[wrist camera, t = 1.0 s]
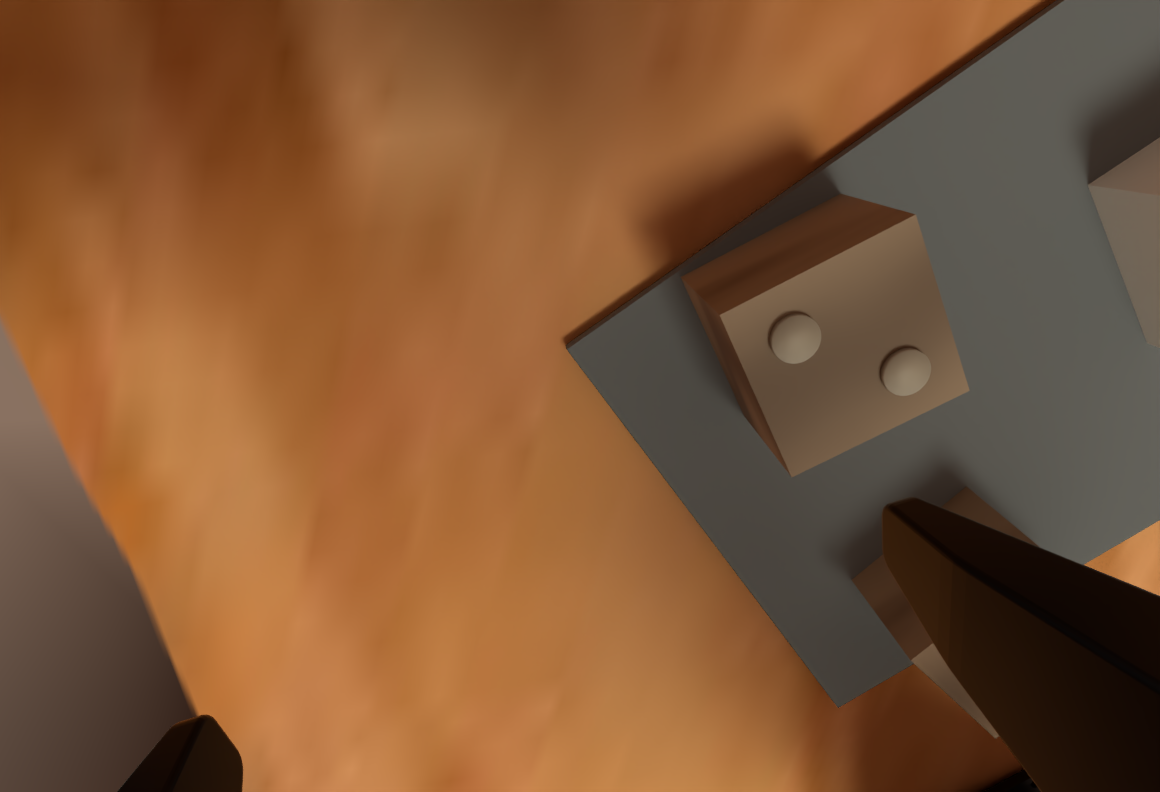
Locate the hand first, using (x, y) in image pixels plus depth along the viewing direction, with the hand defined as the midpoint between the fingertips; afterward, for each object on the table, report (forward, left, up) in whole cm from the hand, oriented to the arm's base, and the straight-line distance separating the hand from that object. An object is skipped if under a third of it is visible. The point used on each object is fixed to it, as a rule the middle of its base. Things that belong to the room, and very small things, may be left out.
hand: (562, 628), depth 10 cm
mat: (-10, -14, -13) cm, 21 cm away
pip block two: (-4, -7, -13) cm, 15 cm away
